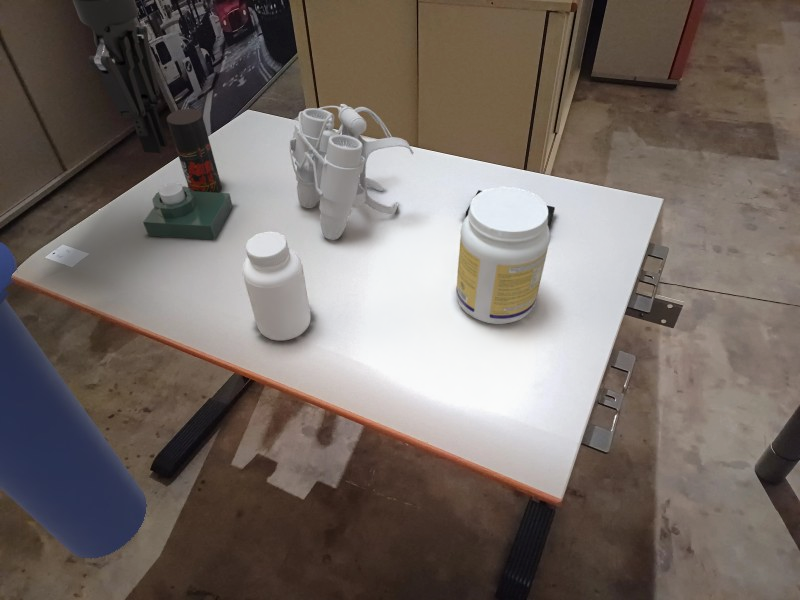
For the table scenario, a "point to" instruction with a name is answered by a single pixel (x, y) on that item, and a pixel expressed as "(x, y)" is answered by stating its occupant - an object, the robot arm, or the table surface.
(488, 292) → the supplement tub
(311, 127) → the rocket backpack
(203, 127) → the deodorant
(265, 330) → the pill bottle
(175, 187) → the white button cap
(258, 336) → the table surface
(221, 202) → the button base
